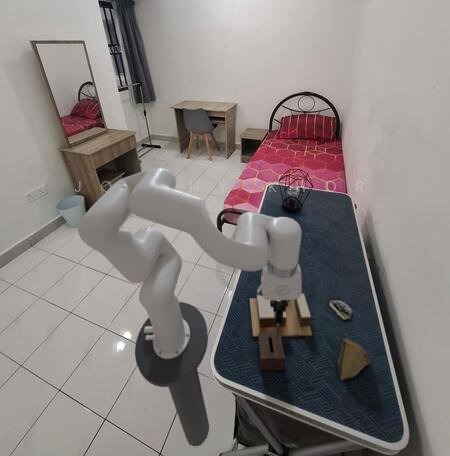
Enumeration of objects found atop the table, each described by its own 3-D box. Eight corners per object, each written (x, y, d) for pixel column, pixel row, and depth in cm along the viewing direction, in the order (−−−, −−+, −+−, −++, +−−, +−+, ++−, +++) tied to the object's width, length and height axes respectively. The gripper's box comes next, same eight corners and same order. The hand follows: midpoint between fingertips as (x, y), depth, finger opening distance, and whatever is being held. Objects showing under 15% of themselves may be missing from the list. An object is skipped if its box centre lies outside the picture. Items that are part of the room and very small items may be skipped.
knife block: (260, 370, 73) (261, 358, 70) (258, 344, 80) (258, 332, 77) (283, 369, 73) (285, 358, 70) (279, 343, 79) (280, 331, 76)
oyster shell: (348, 324, 84) (349, 321, 83) (325, 309, 88) (326, 306, 88) (354, 309, 88) (355, 306, 87) (332, 295, 93) (333, 292, 92)
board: (253, 337, 81) (253, 335, 81) (249, 299, 93) (249, 298, 93) (311, 336, 81) (312, 334, 80) (301, 298, 93) (301, 296, 92)
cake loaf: (259, 327, 83) (259, 317, 81) (256, 304, 90) (256, 294, 88) (285, 326, 83) (286, 316, 80) (280, 303, 90) (281, 293, 87)
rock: (368, 341, 77) (335, 332, 78) (381, 350, 69) (345, 339, 71) (368, 384, 72) (333, 373, 74) (382, 398, 64) (344, 385, 66)
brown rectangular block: (300, 326, 83) (301, 316, 80) (294, 303, 90) (295, 293, 87) (308, 326, 83) (310, 316, 80) (302, 303, 90) (303, 293, 87)
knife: (274, 337, 72) (276, 310, 66) (272, 326, 75) (274, 300, 68) (280, 337, 72) (284, 310, 66) (279, 326, 75) (281, 299, 68)
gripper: (252, 276, 57) (252, 321, 65) (319, 274, 57) (310, 319, 65) (249, 251, 64) (249, 294, 72) (309, 249, 63) (302, 293, 71)
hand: (278, 306), depth 68 cm, fingers closed on knife, 2 cm apart
